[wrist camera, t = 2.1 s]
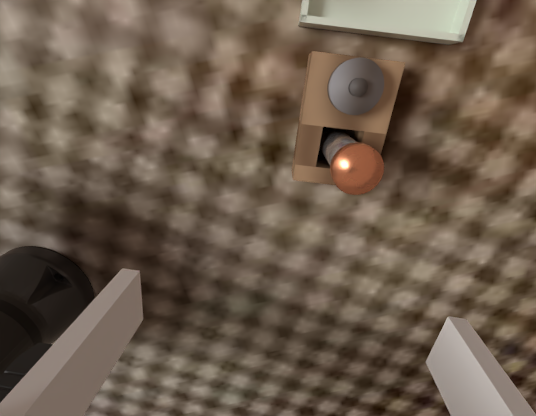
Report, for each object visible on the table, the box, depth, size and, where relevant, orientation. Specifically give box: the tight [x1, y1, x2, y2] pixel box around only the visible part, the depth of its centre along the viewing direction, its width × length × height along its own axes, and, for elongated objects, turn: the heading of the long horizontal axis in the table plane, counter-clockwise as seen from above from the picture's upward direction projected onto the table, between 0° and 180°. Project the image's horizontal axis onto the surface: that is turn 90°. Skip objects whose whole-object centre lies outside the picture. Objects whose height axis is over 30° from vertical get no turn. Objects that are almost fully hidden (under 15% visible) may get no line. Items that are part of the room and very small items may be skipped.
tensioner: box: [292, 51, 405, 185], centre depth 31 cm, size 9×13×7 cm
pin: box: [320, 128, 384, 195], centre depth 30 cm, size 4×4×12 cm
